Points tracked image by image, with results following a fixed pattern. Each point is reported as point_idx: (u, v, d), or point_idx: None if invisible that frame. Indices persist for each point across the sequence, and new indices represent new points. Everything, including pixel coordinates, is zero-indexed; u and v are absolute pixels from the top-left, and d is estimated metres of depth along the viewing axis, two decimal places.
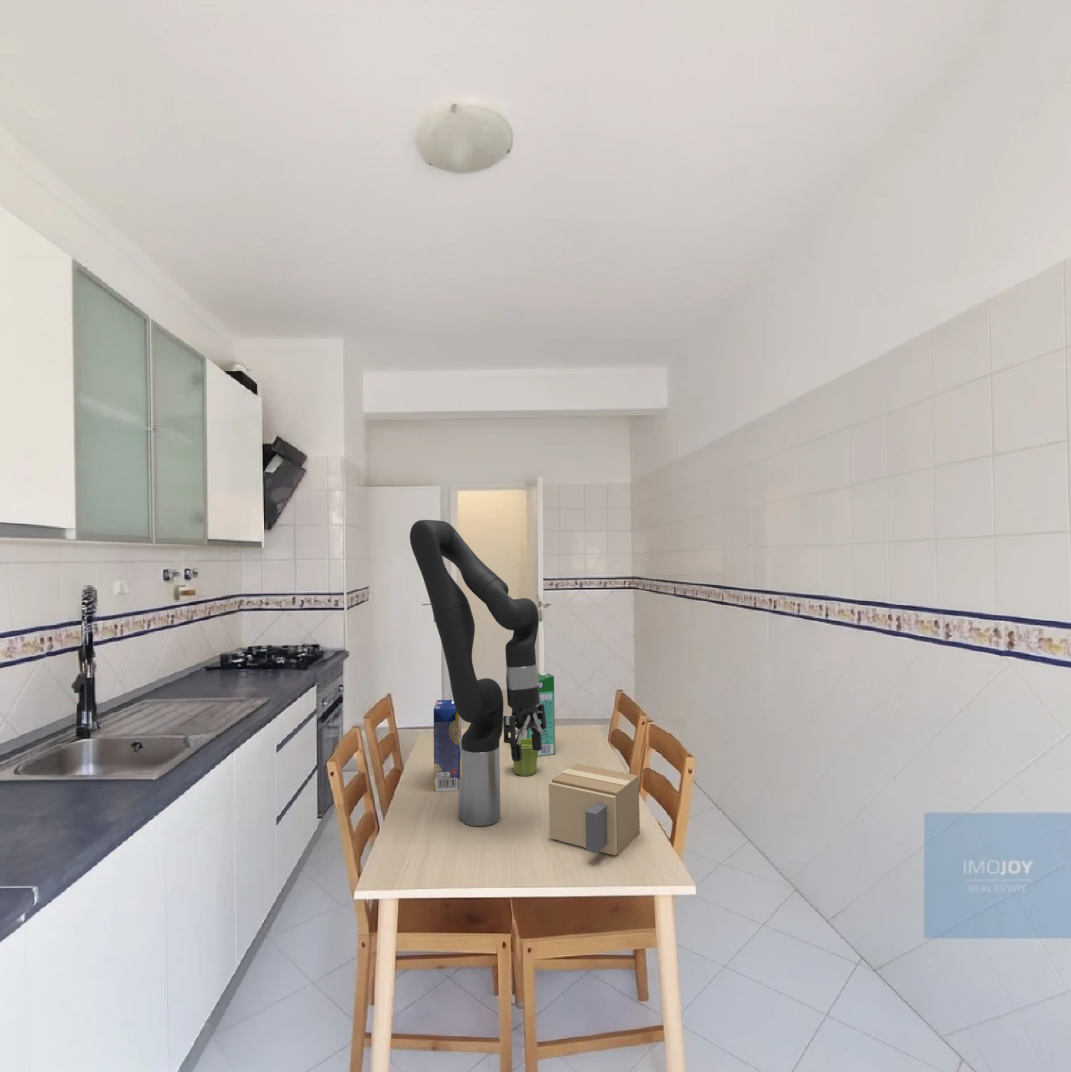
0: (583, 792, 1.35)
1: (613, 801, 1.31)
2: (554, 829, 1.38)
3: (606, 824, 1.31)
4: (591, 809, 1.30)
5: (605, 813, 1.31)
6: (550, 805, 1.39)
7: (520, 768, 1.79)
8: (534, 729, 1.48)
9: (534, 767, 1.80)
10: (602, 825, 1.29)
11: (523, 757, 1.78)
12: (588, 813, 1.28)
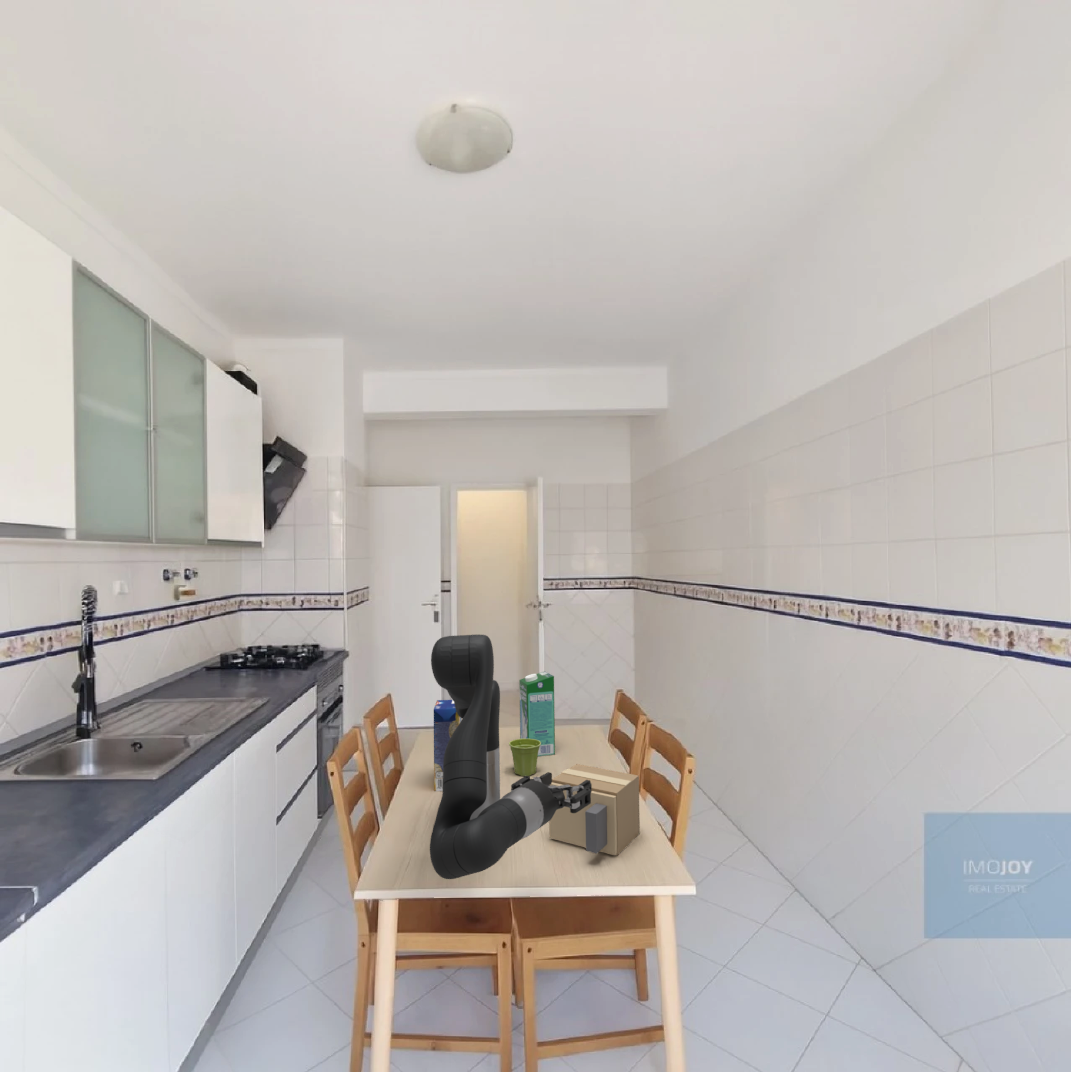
0: None
1: (613, 801, 1.31)
2: (554, 829, 1.38)
3: (606, 824, 1.31)
4: (591, 809, 1.30)
5: (605, 813, 1.31)
6: None
7: (520, 768, 1.79)
8: (577, 791, 1.14)
9: (534, 767, 1.80)
10: (602, 825, 1.29)
11: (523, 757, 1.78)
12: (588, 813, 1.28)
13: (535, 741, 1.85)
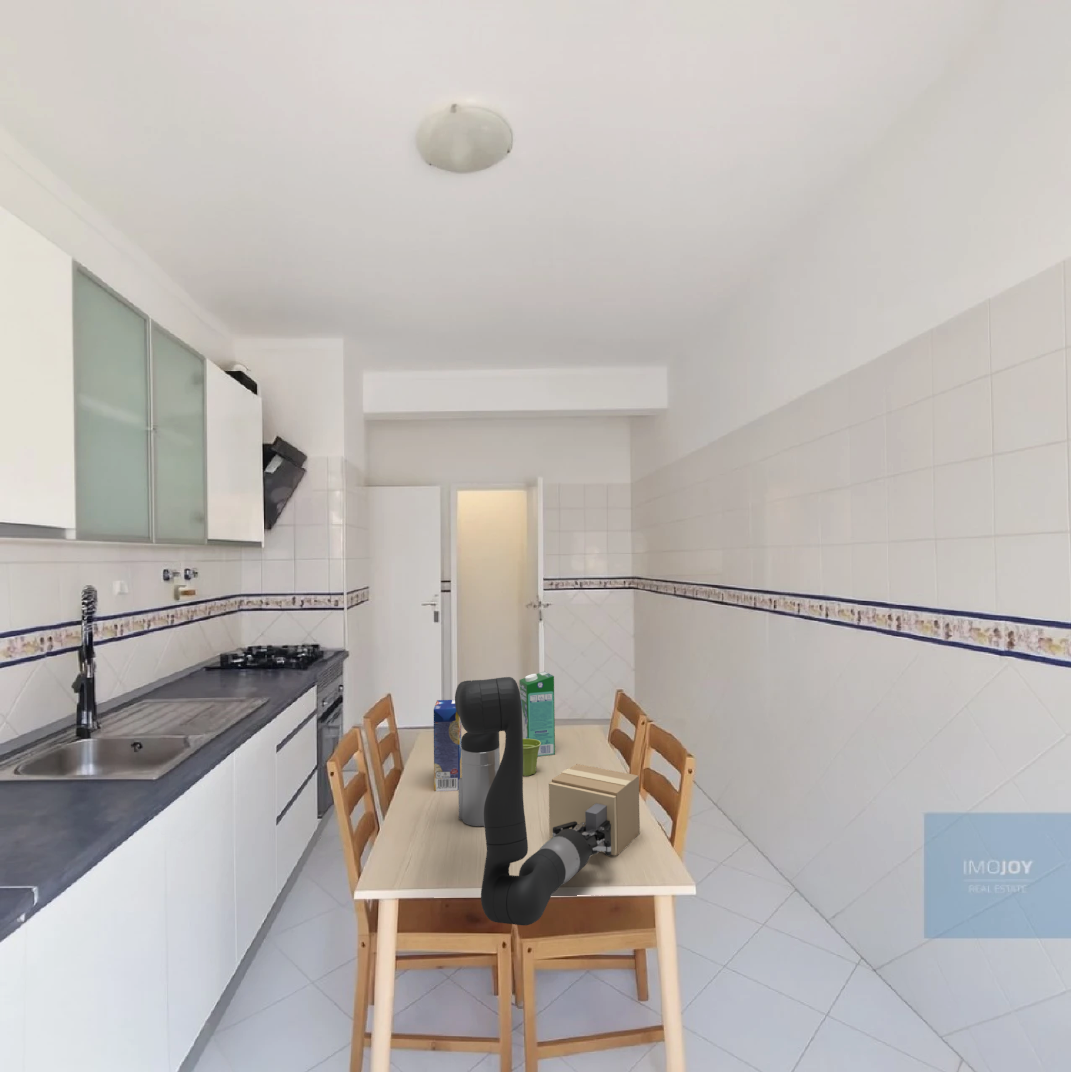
0: (583, 792, 1.35)
1: (613, 801, 1.31)
2: None
3: None
4: (591, 809, 1.30)
5: (605, 813, 1.31)
6: (550, 805, 1.39)
7: None
8: (599, 832, 1.27)
9: (534, 767, 1.80)
10: None
11: (523, 757, 1.78)
12: (588, 813, 1.28)
13: (535, 741, 1.85)
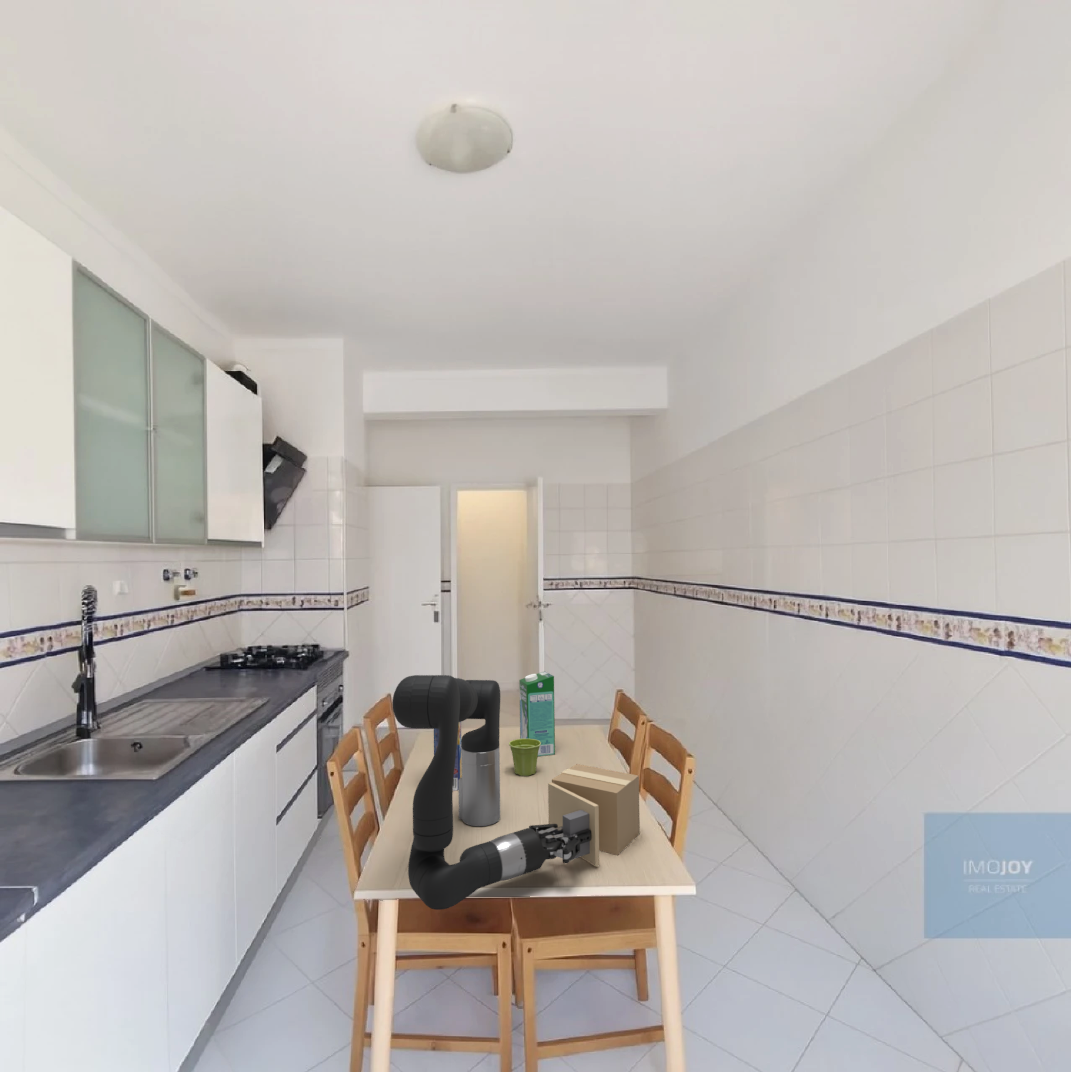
0: (572, 796, 1.32)
1: (594, 810, 1.26)
2: None
3: None
4: (570, 814, 1.27)
5: (586, 821, 1.27)
6: (549, 805, 1.39)
7: (520, 768, 1.79)
8: (571, 839, 1.24)
9: (534, 767, 1.80)
10: None
11: (523, 757, 1.78)
12: (564, 817, 1.26)
13: (535, 741, 1.85)
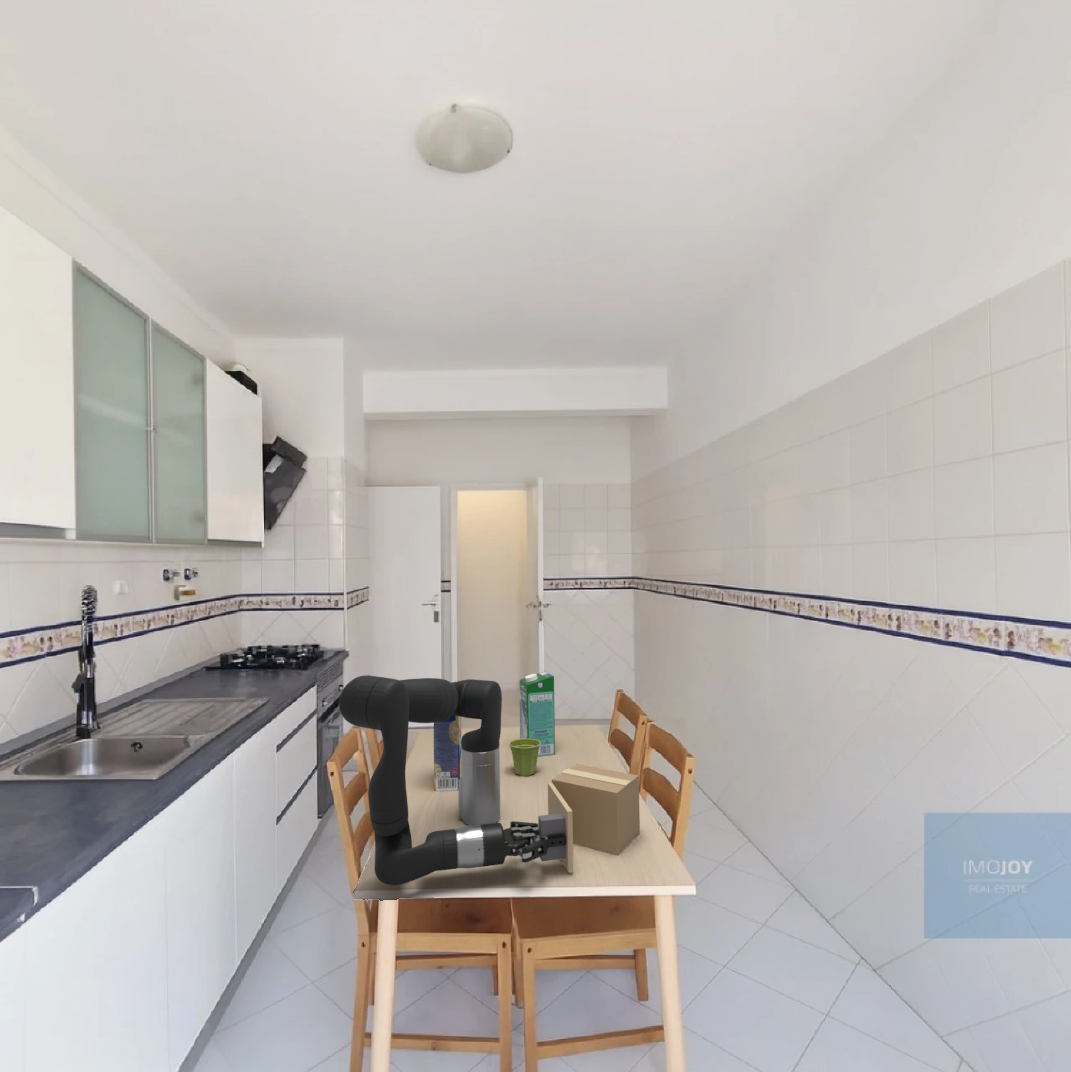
0: (558, 799, 1.31)
1: (567, 815, 1.24)
2: None
3: None
4: (546, 816, 1.27)
5: (562, 825, 1.25)
6: (548, 805, 1.39)
7: (520, 768, 1.79)
8: None
9: (534, 767, 1.80)
10: None
11: (523, 757, 1.78)
12: (539, 818, 1.26)
13: (535, 741, 1.85)
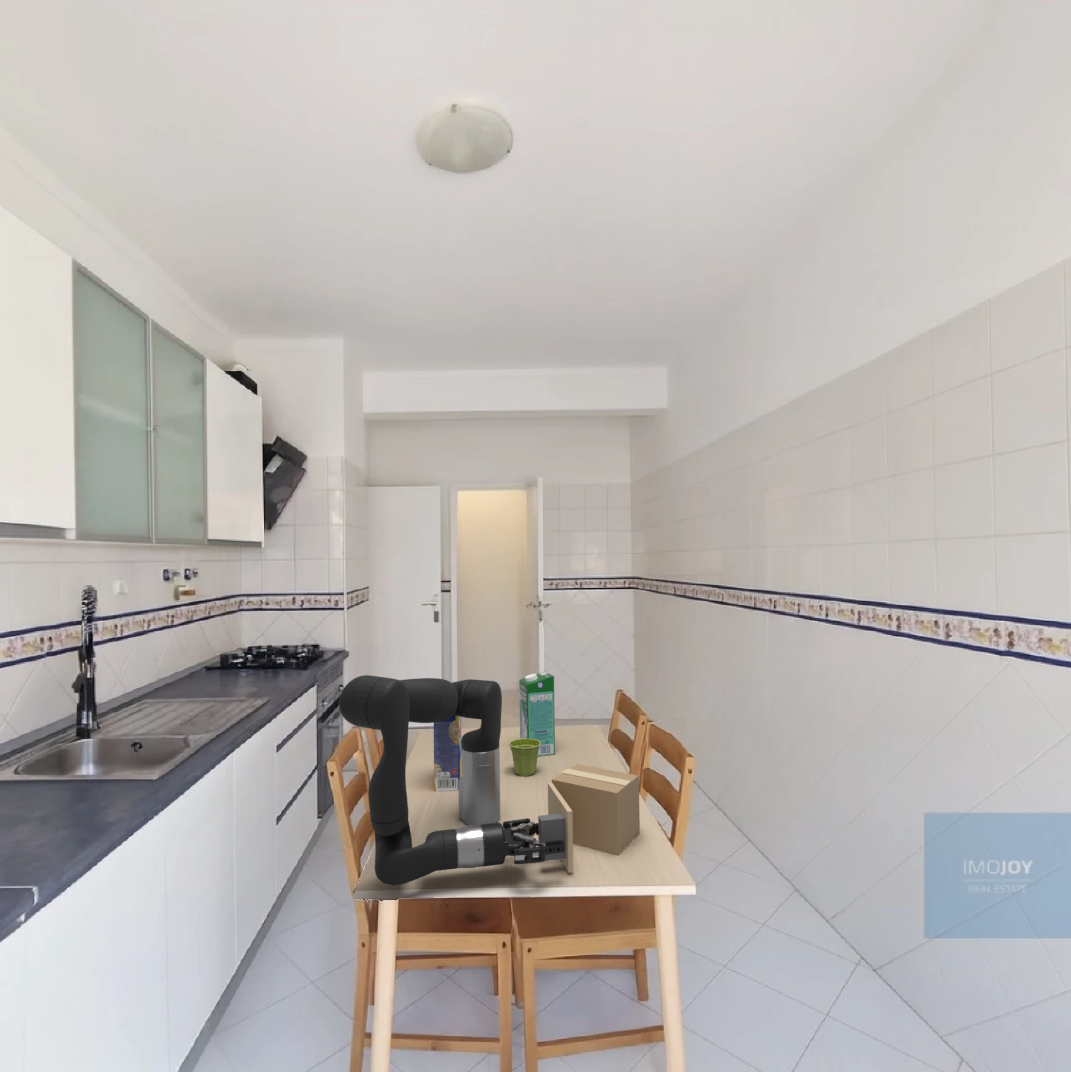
0: (558, 799, 1.31)
1: (567, 815, 1.24)
2: None
3: (563, 837, 1.25)
4: (546, 816, 1.27)
5: (562, 825, 1.25)
6: (548, 805, 1.39)
7: (520, 768, 1.79)
8: None
9: (534, 767, 1.80)
10: (553, 836, 1.25)
11: (523, 757, 1.78)
12: (539, 818, 1.26)
13: (535, 741, 1.85)
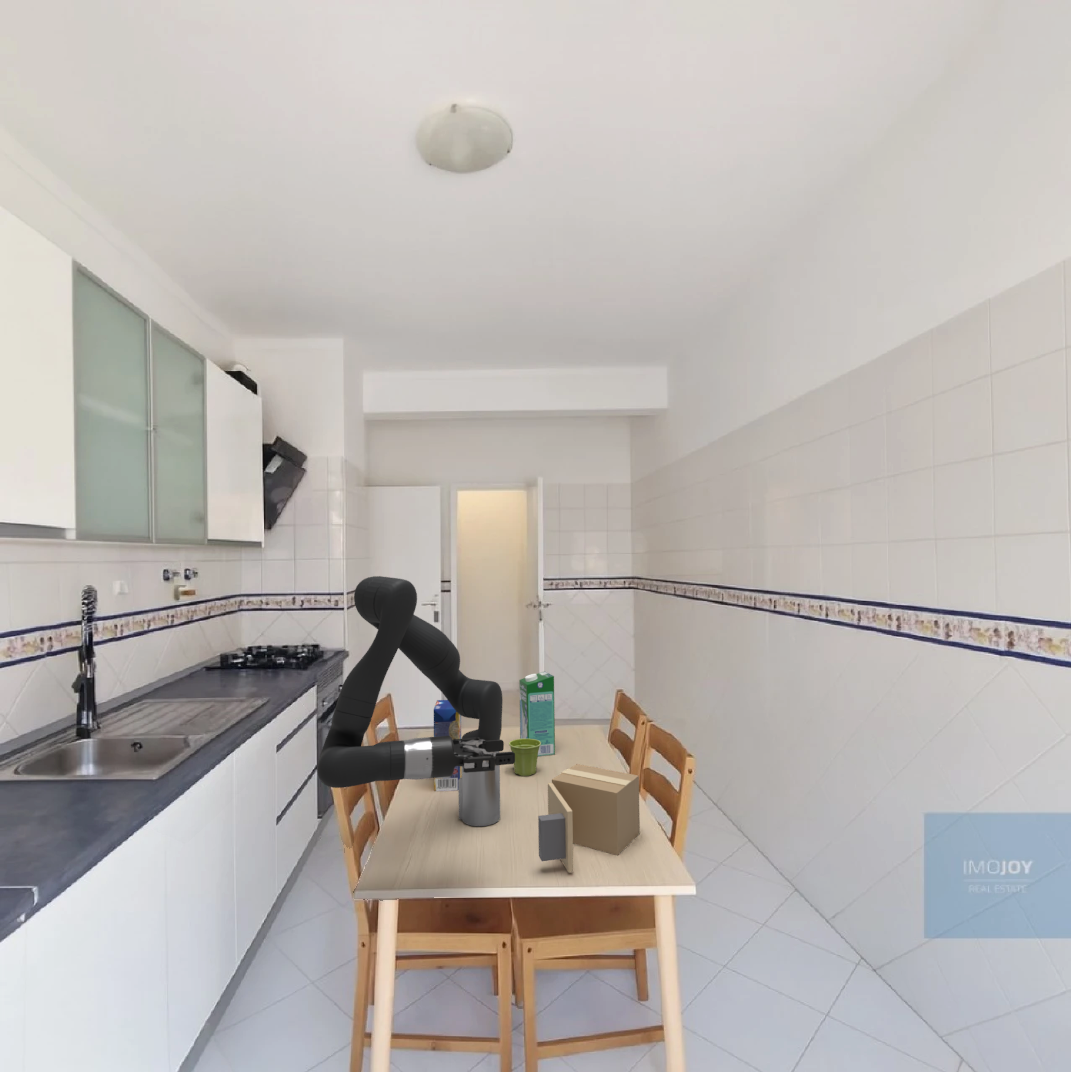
0: (558, 799, 1.31)
1: (567, 815, 1.24)
2: None
3: (563, 837, 1.25)
4: (546, 816, 1.27)
5: (562, 825, 1.25)
6: (548, 805, 1.39)
7: (520, 768, 1.79)
8: None
9: (534, 767, 1.80)
10: (553, 836, 1.25)
11: (523, 757, 1.78)
12: (539, 818, 1.26)
13: (535, 741, 1.85)
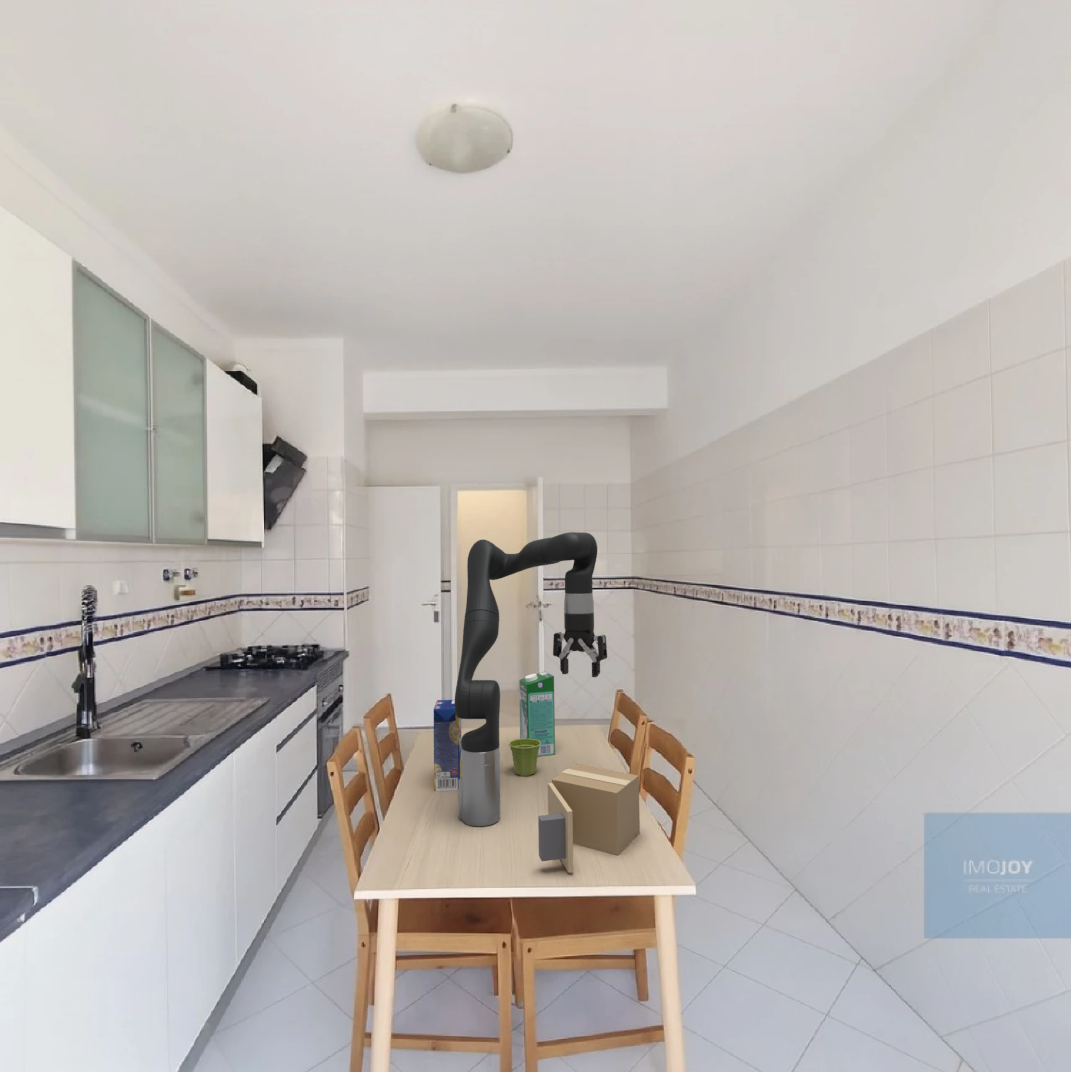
0: (558, 799, 1.31)
1: (567, 815, 1.24)
2: None
3: (563, 837, 1.25)
4: (546, 816, 1.27)
5: (562, 825, 1.25)
6: (548, 805, 1.39)
7: (520, 768, 1.79)
8: (595, 657, 1.55)
9: (534, 767, 1.80)
10: (553, 836, 1.25)
11: (523, 757, 1.78)
12: (539, 818, 1.26)
13: (535, 741, 1.85)
